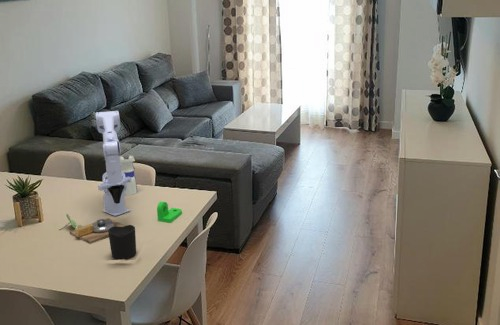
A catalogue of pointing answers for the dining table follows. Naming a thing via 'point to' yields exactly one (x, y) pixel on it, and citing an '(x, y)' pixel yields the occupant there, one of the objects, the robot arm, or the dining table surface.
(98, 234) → the board
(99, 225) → the pan with wooden handle
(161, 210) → the mechanical part
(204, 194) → the dining table surface
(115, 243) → the pen holder
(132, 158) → the water bottle
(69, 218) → the seedling
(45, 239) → the dining table surface
